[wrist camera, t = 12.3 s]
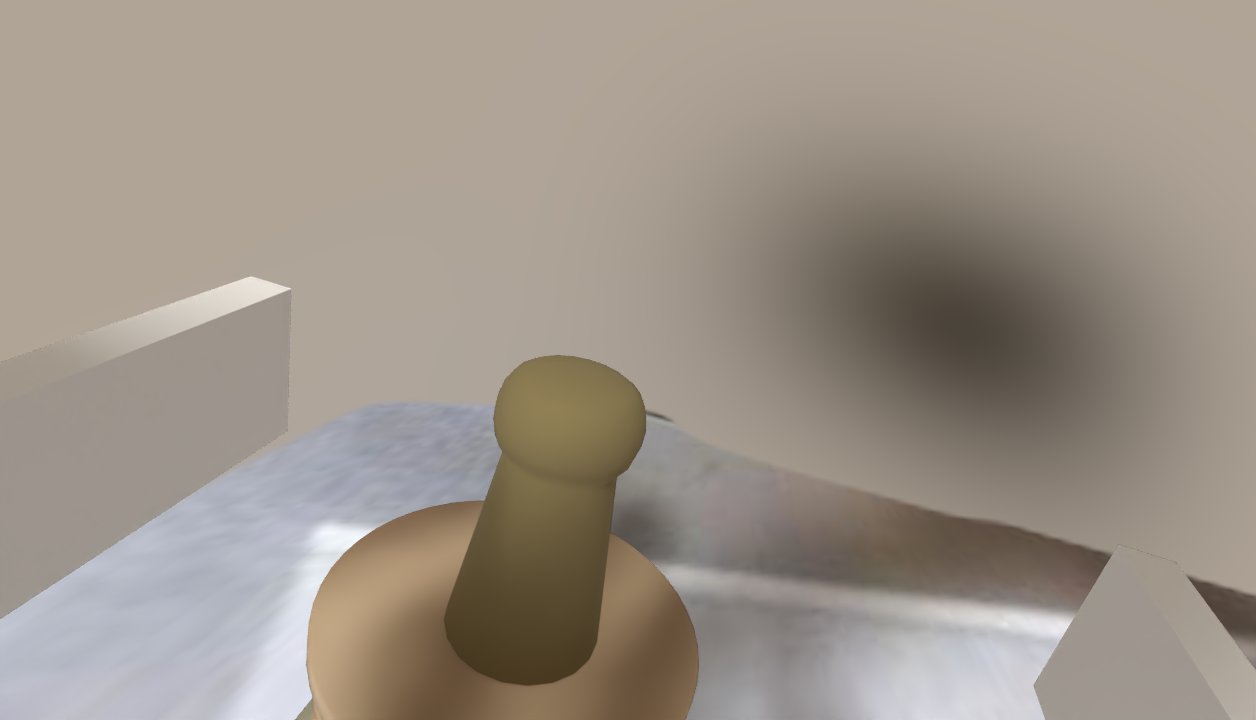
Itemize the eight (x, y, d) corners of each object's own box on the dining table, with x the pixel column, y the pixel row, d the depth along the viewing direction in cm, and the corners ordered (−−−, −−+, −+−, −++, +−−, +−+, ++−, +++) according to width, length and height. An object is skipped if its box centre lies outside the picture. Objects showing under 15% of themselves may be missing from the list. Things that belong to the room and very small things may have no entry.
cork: (446, 565, 30) (488, 324, 26) (586, 573, 32) (647, 348, 28) (440, 684, 25) (493, 406, 21) (609, 686, 27) (689, 429, 22)
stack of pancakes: (683, 690, 38) (730, 563, 35) (606, 1060, 24) (674, 902, 20) (407, 588, 40) (427, 458, 37) (180, 871, 26) (178, 698, 22)
